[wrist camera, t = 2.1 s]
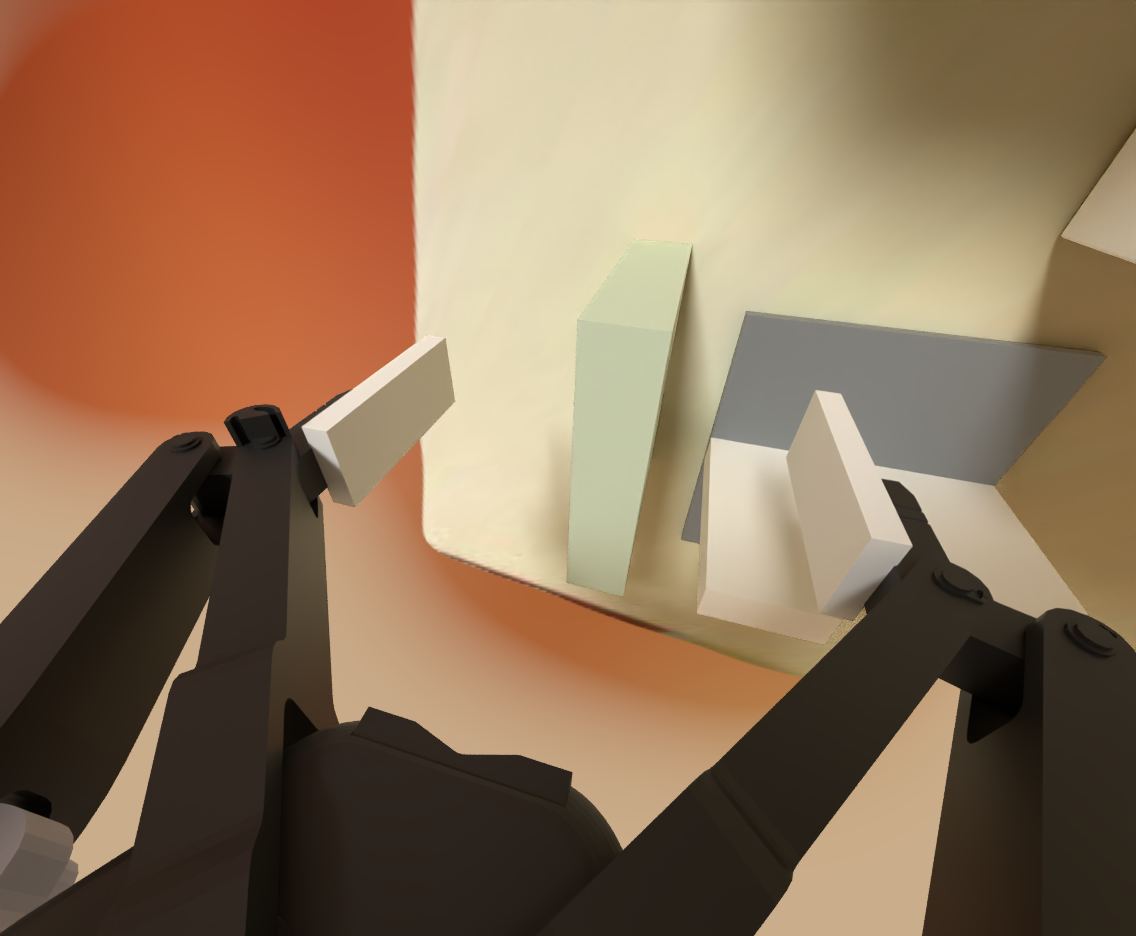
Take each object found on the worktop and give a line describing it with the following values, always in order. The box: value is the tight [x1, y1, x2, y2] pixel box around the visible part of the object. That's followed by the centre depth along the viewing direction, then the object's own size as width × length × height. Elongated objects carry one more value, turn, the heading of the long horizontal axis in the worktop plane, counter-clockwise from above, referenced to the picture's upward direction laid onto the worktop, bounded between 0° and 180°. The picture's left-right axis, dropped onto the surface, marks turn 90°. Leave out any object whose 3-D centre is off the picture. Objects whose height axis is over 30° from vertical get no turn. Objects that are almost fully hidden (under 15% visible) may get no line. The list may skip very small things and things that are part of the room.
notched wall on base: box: [681, 311, 1107, 645], centre depth 23 cm, size 16×18×13 cm
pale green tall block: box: [567, 239, 692, 597], centre depth 22 cm, size 14×3×12 cm, turn 178°
